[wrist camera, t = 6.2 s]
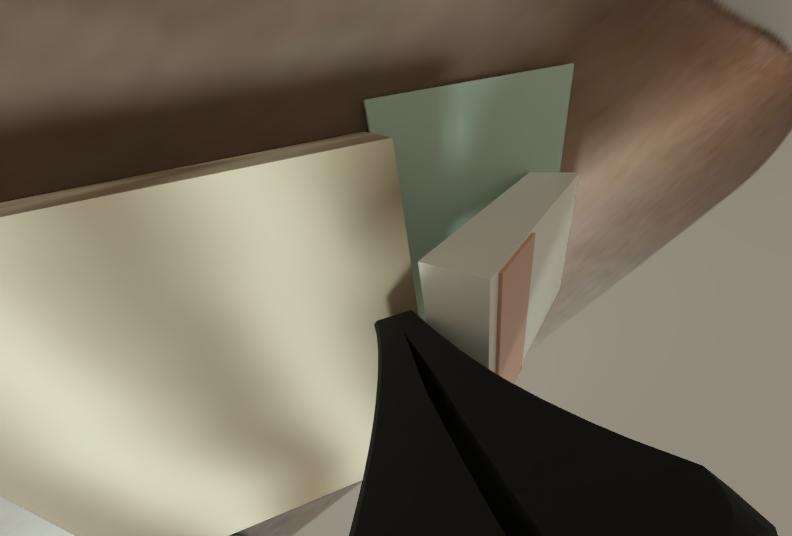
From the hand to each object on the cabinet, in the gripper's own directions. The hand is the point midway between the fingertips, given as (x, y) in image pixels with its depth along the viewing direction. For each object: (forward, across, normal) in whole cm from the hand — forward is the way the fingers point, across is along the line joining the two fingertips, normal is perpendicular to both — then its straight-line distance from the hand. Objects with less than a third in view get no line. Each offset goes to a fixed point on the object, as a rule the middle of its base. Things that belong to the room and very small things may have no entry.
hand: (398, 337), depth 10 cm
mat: (+5, -6, -1) cm, 7 cm away
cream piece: (+5, +6, +2) cm, 8 cm away
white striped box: (+2, -5, 0) cm, 5 cm away
